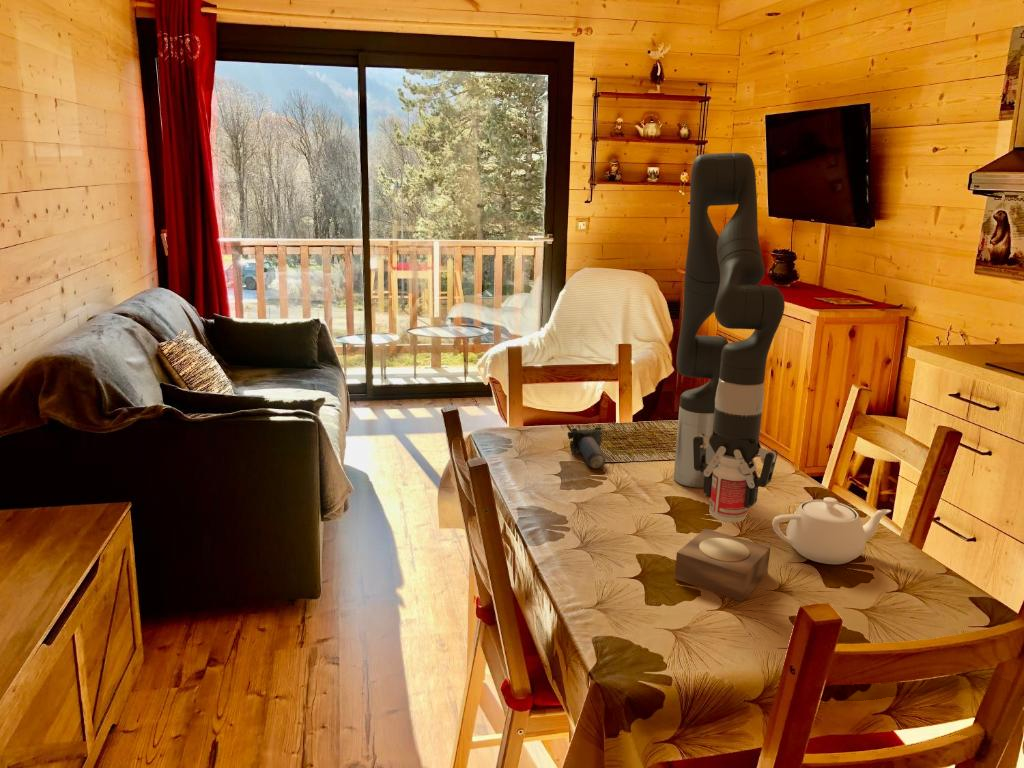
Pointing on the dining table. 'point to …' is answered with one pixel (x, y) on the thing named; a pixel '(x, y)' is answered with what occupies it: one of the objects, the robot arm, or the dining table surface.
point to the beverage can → (588, 446)
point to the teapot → (827, 531)
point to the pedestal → (722, 564)
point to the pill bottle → (728, 491)
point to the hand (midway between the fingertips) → (728, 500)
